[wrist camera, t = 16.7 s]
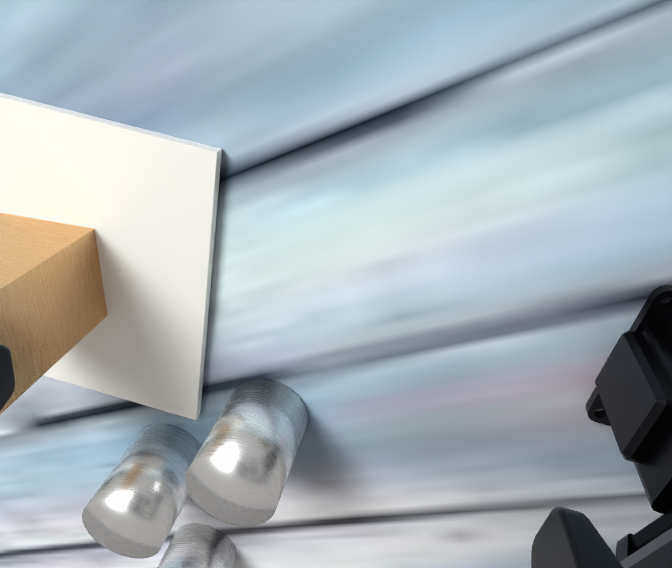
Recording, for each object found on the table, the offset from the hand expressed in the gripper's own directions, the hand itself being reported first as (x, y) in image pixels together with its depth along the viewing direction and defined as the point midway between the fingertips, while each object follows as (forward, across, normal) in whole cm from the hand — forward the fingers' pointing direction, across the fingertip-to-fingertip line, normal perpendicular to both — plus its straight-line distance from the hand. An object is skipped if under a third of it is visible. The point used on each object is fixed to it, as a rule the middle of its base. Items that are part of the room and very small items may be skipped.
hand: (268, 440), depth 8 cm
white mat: (+13, +12, +7) cm, 19 cm away
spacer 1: (+13, +8, +18) cm, 23 cm away
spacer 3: (+13, +2, +12) cm, 18 cm away
